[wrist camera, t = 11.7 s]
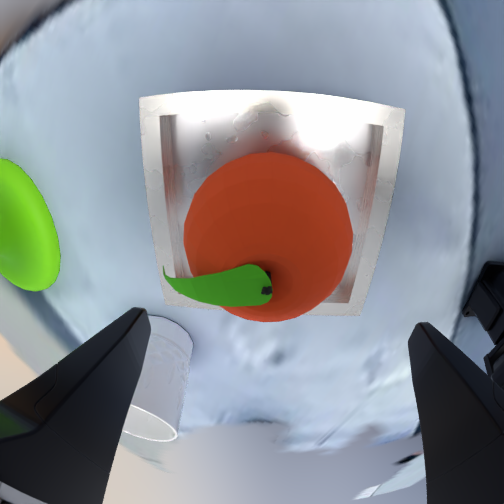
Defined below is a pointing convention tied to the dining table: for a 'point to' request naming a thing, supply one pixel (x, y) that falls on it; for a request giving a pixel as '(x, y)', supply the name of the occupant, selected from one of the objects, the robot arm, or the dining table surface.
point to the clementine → (265, 238)
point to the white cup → (161, 383)
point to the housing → (270, 140)
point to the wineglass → (26, 232)
